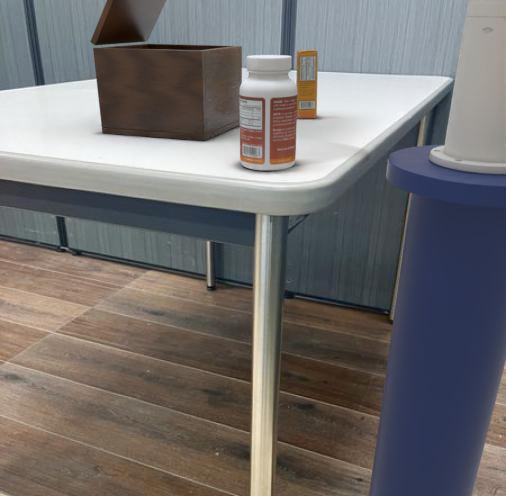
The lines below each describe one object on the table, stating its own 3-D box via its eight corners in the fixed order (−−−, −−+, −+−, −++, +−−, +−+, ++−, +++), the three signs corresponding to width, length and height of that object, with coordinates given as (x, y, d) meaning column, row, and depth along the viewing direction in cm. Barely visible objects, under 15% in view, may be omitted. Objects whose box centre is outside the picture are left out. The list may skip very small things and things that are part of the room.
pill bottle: (293, 159, 68) (298, 54, 63) (296, 172, 63) (301, 58, 58) (240, 159, 69) (240, 53, 63) (238, 171, 63) (238, 57, 58)
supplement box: (293, 115, 98) (296, 49, 94) (314, 115, 99) (317, 49, 94) (295, 118, 96) (298, 50, 91) (316, 118, 96) (320, 50, 91)
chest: (242, 124, 90) (241, 46, 85) (204, 141, 78) (201, 50, 73) (150, 118, 95) (145, 43, 89) (102, 133, 82) (92, 47, 77)
